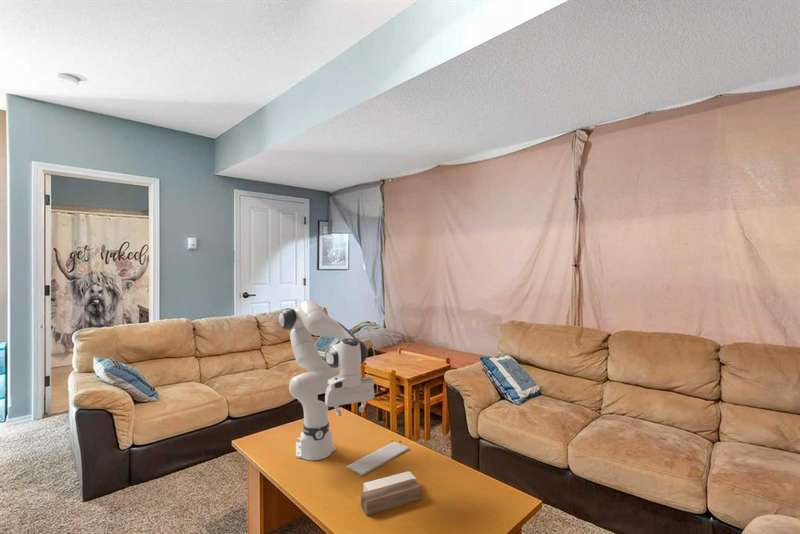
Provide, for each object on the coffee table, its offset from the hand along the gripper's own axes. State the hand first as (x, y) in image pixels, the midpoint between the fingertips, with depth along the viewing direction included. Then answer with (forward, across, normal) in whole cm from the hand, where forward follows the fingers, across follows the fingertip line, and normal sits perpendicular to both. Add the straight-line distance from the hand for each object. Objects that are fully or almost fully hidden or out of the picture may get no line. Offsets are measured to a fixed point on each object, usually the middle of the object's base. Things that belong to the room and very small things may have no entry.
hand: (350, 413), depth 157 cm
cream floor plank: (+30, -12, +12) cm, 34 cm away
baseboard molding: (+30, -18, -16) cm, 39 cm away
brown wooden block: (+29, -10, +18) cm, 36 cm away
